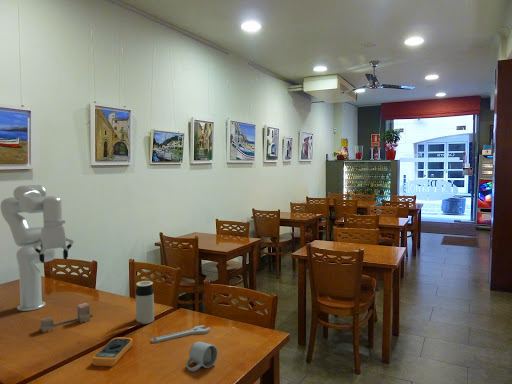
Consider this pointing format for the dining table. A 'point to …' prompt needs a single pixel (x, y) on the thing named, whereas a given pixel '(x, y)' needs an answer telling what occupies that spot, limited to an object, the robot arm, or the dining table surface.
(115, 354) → the multimeter
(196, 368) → the ceramic mug
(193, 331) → the adjustable wrench
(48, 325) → the bar clamp
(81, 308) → the block
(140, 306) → the travel mug
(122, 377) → the dining table surface
